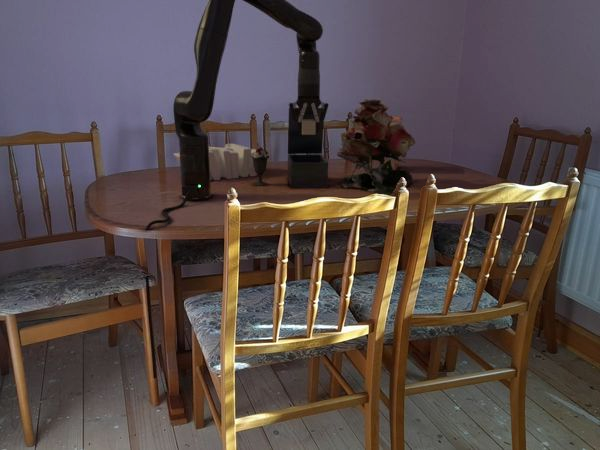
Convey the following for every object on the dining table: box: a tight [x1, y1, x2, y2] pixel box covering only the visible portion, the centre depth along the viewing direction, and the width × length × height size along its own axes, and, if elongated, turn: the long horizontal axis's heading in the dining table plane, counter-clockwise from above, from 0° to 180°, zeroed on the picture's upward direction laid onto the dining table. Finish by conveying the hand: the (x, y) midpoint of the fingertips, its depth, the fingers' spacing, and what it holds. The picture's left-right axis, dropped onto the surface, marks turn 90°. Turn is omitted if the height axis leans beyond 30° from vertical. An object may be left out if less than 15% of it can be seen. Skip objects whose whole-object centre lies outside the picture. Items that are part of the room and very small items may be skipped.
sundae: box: [251, 142, 270, 187], centre depth 190 cm, size 7×7×15 cm
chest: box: [287, 153, 329, 189], centre depth 194 cm, size 17×13×9 cm
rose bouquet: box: [336, 98, 416, 195], centre depth 190 cm, size 26×29×30 cm
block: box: [301, 120, 316, 135], centre depth 186 cm, size 5×5×5 cm
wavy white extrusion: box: [173, 143, 259, 182], centre depth 205 cm, size 35×16×11 cm, turn 119°
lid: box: [287, 107, 325, 155], centre depth 198 cm, size 18×13×5 cm
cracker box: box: [384, 116, 403, 170], centre depth 217 cm, size 14×6×21 cm, turn 165°
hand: (308, 132), depth 187 cm, fingers closed on block, 4 cm apart
